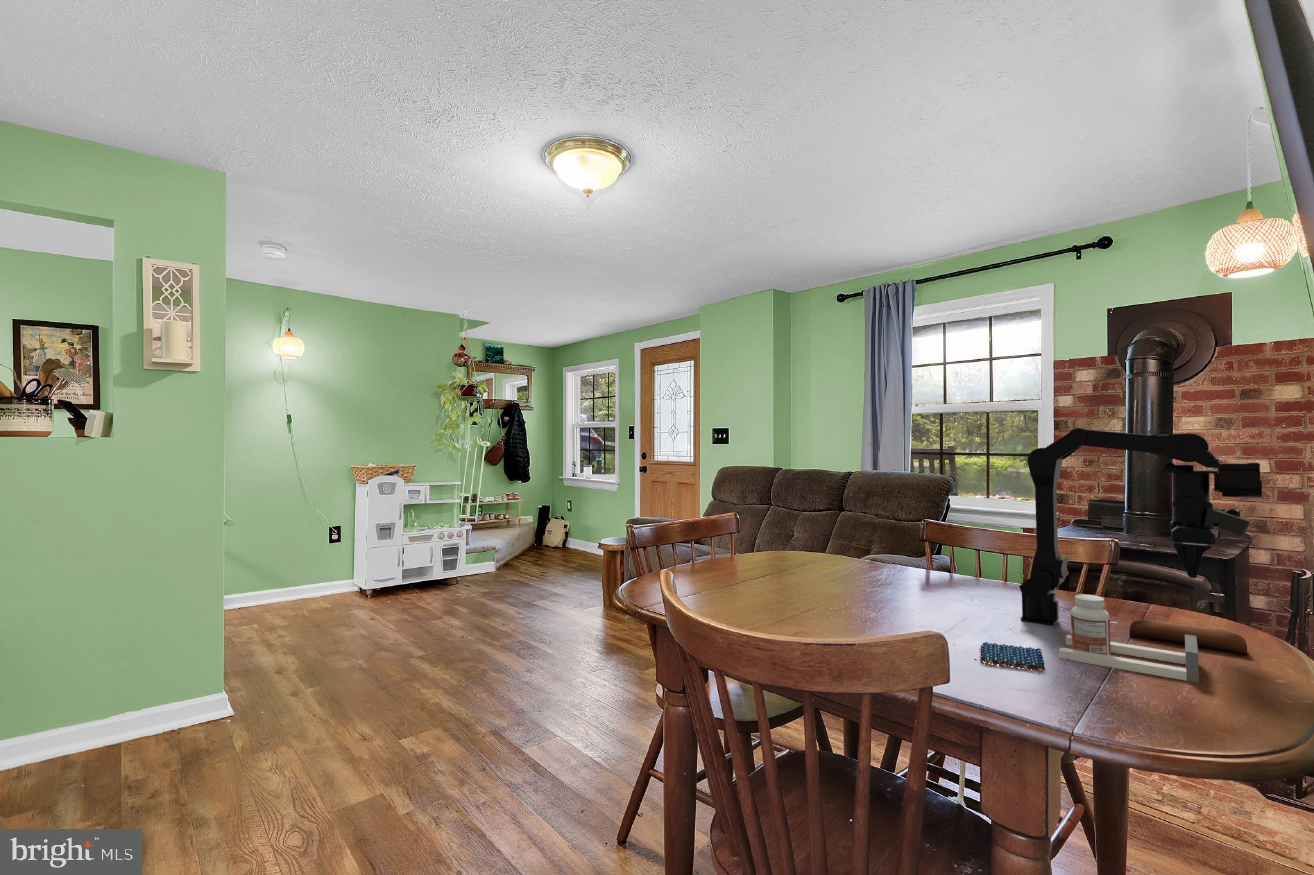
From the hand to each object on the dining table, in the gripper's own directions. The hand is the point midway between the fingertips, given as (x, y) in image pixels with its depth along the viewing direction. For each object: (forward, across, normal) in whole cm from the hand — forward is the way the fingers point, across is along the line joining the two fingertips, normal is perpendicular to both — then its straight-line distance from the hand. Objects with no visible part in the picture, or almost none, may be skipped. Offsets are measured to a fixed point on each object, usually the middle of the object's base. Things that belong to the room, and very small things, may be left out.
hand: (1191, 573), depth 123 cm
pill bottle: (+15, -18, +15) cm, 28 cm away
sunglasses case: (+15, +2, +1) cm, 15 cm away
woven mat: (+15, -30, +27) cm, 43 cm away
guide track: (+14, -18, +10) cm, 25 cm away
